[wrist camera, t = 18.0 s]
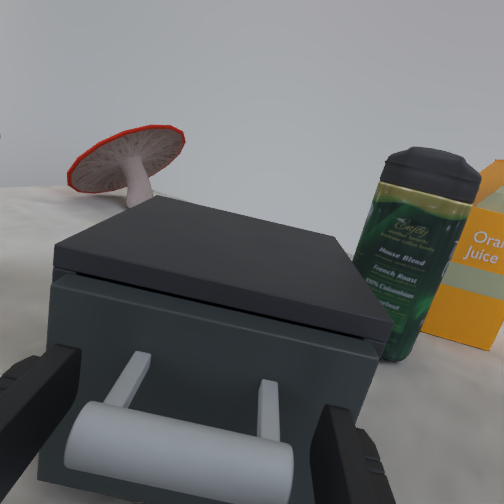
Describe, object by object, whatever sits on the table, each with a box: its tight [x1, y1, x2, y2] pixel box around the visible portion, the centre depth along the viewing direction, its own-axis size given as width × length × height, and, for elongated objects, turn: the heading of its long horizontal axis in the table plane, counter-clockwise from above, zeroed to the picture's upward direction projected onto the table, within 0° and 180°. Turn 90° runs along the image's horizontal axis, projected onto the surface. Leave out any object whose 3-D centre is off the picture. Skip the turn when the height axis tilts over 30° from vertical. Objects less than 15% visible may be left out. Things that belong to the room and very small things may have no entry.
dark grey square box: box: [52, 195, 394, 423], centre depth 21 cm, size 13×13×11 cm
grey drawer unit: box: [37, 273, 379, 504], centre depth 17 cm, size 16×12×9 cm
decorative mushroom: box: [67, 125, 185, 209], centre depth 61 cm, size 15×21×15 cm
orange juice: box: [420, 160, 504, 351], centre depth 42 cm, size 8×9×20 cm
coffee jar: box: [352, 147, 482, 361], centre depth 34 cm, size 10×8×19 cm
